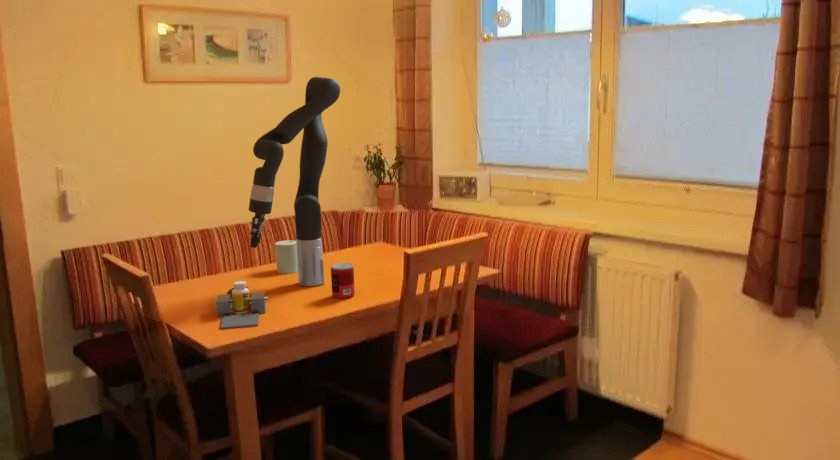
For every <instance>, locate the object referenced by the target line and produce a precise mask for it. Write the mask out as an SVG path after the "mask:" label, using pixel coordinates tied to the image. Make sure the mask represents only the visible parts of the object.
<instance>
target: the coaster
mask: <svg viewBox="0 0 840 460" xmlns="http://www.w3.org/2000/svg"><path fill="white" fill-rule="evenodd" d="M259 317H260V314H259V313H256V314H252V313H247V314H246V313H243V314H236V315H232V314H231V315H230V316H223V317H222V320H221V324H220V330H226V329H239V328H240V327H241V328H249V327H250V326H252V327H258V326H259V319H260V318H259ZM250 328H251V327H250Z"/></svg>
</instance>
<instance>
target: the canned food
mask: <svg viewBox="0 0 840 460" xmlns="http://www.w3.org/2000/svg"><path fill="white" fill-rule="evenodd" d="M330 277H331V280H330V281H331V295H332V297H333V299H335V300H347V299H352V298H354V296H355V294H356V293H355V291H356V290H355V269H354V264H353V263H350V262H338V263H334V264H332V265H330ZM351 297H352V298H351Z"/></svg>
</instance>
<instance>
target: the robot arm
mask: <svg viewBox="0 0 840 460" xmlns="http://www.w3.org/2000/svg"><path fill="white" fill-rule="evenodd" d="M340 95H341V87H340V84H339V81H337V80H335V79H333V78H331V77H322V76H321V77H320V76H313V77H311V78H310V79H309V80H308V81H307V84H306V87H305V95H304V96H305V97H304V105H302V106H301V107H298V108H297V109H295V110H293V111H291V112H289V113H288V114H287V115H286V116H285V117H283V118H282V120H281V121H280V122H279V123H278V124H277V125H276V126H275V127H274V128H273V129H271V130H269V131H267V132H266V133H265V134H263V135H262V136H260V137H259V138H258V139H257V140H256V141H255V143H254V145H253V147H252V148H253V149H252V150H253V152H252V153H253V155H254V156H255V157H256V158H257V159H259V160H262V161H264V163H263V165H262V166H259V167H256V168H255V169H254V174H253V181H252V186H251V189H250V190H251V191H250V197H249V204H248V205H249V206H248V211H249V212H250V213H254V216H253V217H252V218H251V227H250V233H249V234H250V237H251V238H250V242H249V243H250V245H249V247H250V248H253V249H256V248H257V247H258V244H259V245H260V242H261V238H262V232H263V231H264V226H265V222H266V218H265V216H266V215H270V214H271V213H272V208H273V201H274V194H275V190H274V189H275V183H276V182H275V181H276V176H277V173H278V172H279V169H280V166H281V164H282V161H283V158H284V156H285V155H284V153H285V151H284V146H283V145H289V144H290V143H292V141H293V140H294V139H295V138H296V137H297V136H299V133H300V132H302V131H303V133H302V140H301V147H300V154H299V155H300V157H299V182H298V186H297V190H296V194H295V199H294V203H293V209H294V217H295V218H294V221H295V241H296V244H297V260H298V272H297V274H298V275H297V276H298V286H301V287H317V286H321V285H325V274H324V273H325V271H324V268H325V267H324V258H323V256H324V255H323V241H322V240H323V239H322V209H321V204H320V201H319V191H320V188H319V187H320V181H321V177H322V174H323V171H324V167H325V163H326V158H327V153H328V142H329V141H328V137H327V134H326V131H325V127H324V124H323V120H322V113H323V112H324V111H326V110H327V109H329V108H330V107H331V106H332V105H334V104H335V102H337V101H338V99H339V98H340Z"/></svg>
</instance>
